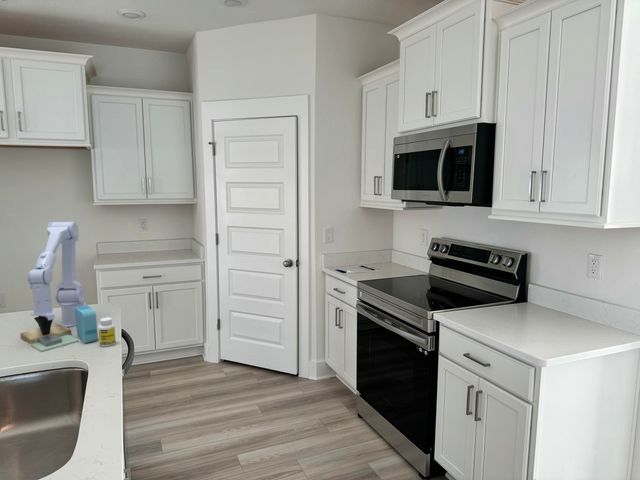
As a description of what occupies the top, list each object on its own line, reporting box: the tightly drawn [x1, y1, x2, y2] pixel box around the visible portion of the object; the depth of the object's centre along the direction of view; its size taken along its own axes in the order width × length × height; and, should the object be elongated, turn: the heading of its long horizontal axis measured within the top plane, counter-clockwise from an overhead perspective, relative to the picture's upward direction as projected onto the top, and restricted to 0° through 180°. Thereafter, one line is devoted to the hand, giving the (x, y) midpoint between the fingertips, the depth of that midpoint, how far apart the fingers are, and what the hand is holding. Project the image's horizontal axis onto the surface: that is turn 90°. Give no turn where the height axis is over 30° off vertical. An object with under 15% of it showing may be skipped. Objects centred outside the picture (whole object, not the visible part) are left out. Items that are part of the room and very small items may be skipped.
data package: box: [75, 304, 99, 344], centre depth 171 cm, size 12×4×12 cm, turn 42°
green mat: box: [30, 335, 80, 353], centre depth 167 cm, size 13×10×1 cm
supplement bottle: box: [98, 317, 117, 347], centre depth 165 cm, size 5×5×10 cm
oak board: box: [19, 323, 73, 345], centre depth 174 cm, size 14×12×2 cm
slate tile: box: [37, 334, 62, 347], centre depth 166 cm, size 6×8×2 cm
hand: (46, 334), depth 169 cm, fingers closed
